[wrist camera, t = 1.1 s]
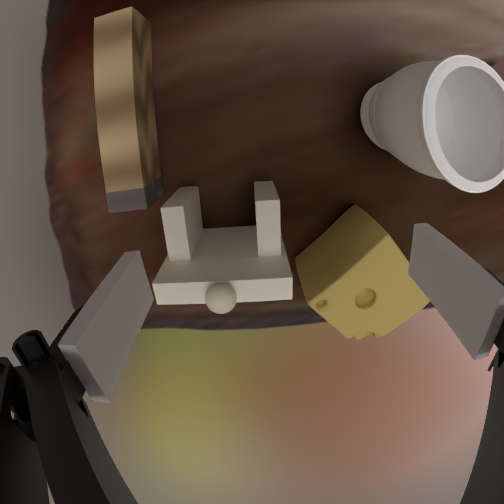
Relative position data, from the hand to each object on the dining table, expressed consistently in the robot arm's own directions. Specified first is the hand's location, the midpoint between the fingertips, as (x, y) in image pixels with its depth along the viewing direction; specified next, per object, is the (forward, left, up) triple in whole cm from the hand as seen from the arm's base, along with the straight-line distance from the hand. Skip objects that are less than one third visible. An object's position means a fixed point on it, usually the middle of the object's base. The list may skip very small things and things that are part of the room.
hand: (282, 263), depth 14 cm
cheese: (+10, +10, -20) cm, 25 cm away
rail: (-9, -13, -20) cm, 25 cm away
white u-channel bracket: (+5, -4, -20) cm, 21 cm away
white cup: (-7, +15, -20) cm, 26 cm away
